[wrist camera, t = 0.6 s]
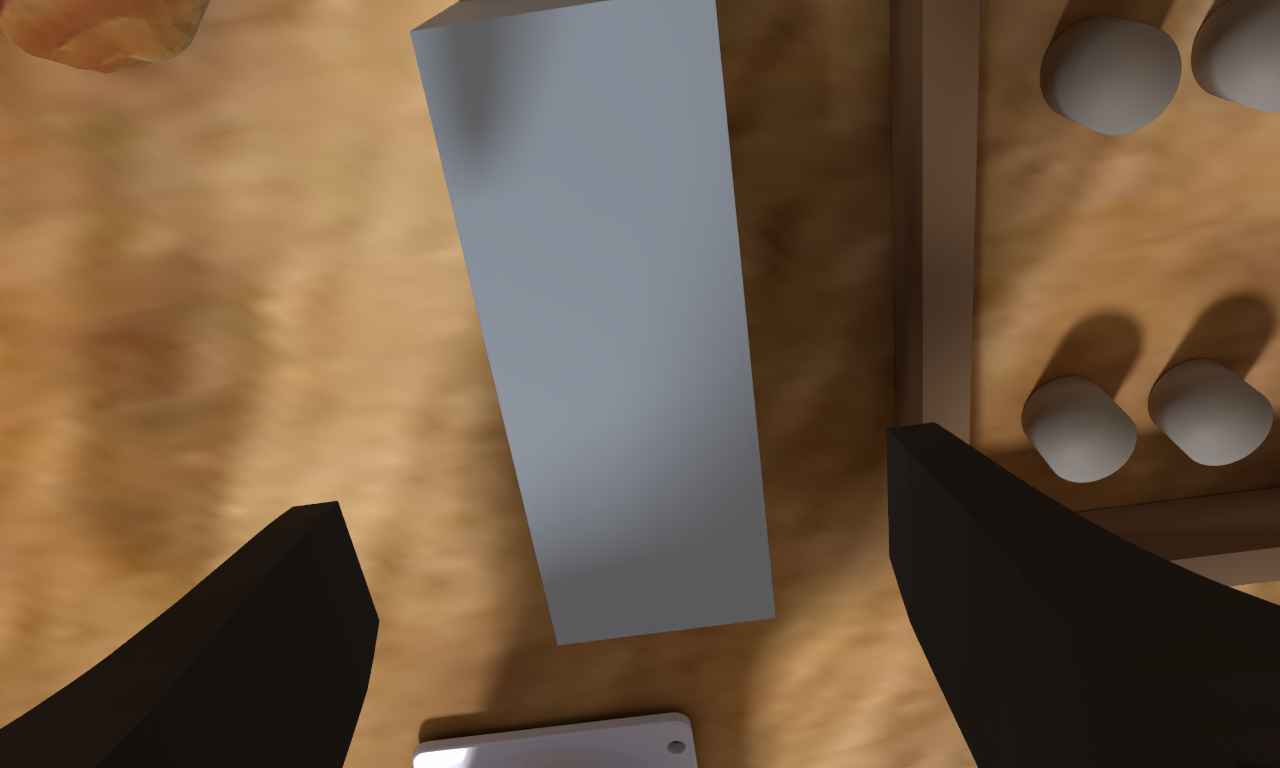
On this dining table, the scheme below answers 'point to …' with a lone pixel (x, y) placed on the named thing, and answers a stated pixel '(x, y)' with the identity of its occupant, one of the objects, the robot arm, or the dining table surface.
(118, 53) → the pastry
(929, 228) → the peg frame
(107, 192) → the dining table surface
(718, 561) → the blue-grey rectangular block
